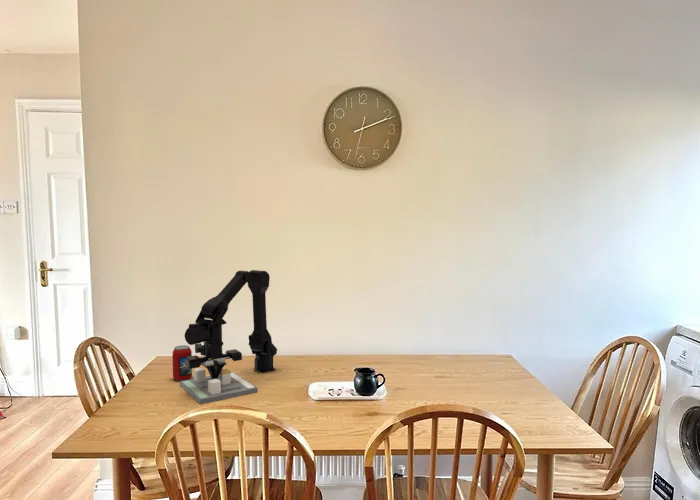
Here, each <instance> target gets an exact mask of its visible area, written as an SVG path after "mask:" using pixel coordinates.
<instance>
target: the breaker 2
mask: <svg viewBox="0 0 700 500" xmlns="http://www.w3.org/2000/svg"><path fill="white" fill-rule="evenodd" d="M208 392H209V393H210V394H211V395H214V394H219V393H221V381H219V380H218V379H212V380H208Z"/></svg>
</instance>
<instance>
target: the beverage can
mask: <svg viewBox="0 0 700 500" xmlns="http://www.w3.org/2000/svg"><path fill="white" fill-rule="evenodd" d="M190 347H191V346H190V345H187V344H186V345H184V344H183V345H182V344H181V345H176V346H175V347H174V348H173V350H172V379H174V380H175V381H177V382H180V381H185V380H190V379H192V377H193V368H192V369H190V368H188V367H187V366H186V365H185V358H186V357H189V356H193V354H192V353H193V351H192V349H191V348H190Z"/></svg>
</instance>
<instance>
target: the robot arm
mask: <svg viewBox="0 0 700 500" xmlns="http://www.w3.org/2000/svg"><path fill="white" fill-rule="evenodd" d="M246 284H247V287H248V289H249V291H250V292H251V295H252V296H251V297H252V316H253V317H252V318H253V330H252V332H251V334H249V335H248V346H249V348H250V350H251V353H252V355H255V358H254V361H253V362H254V363H253V365H254V367H253V370H255V371H257V372H258V373H268V372H271V371H275V370H276V368H274V357H275V356H276V355H277V352H278V348H277V347H276V346H275V345H274V343H273V340H272V335H271V333H270V332H269V330H268V326H267V301H266V300H267V299H266V298H267V297H266V293H267V291H268V289H269V287H270V274H269V273H268V271H266V270H259V269H258V270H257V269H252V270H250V271H248V270H237V271H236V272H235V274H234V276H233V277H232V278H231V279H230V280H229V282H228V283H227V284H226V285H225V286H224V287H223V289H222V290H220V292H219V293H218V294H217V295H216V296H214V297H211V298H210V299H208V300H207V301H206V302H205V303H204V304H203V305H202V306H201V310H200V311H199V313H198V316H197V317H196V319H195V321H194V323H189V324H188V328H187V329H186V330H185V333H184V340H185V341H186V343H187V344H188V346H193V345H194V352H195V354H196V355H192V356H189V357H186V358H185V365H186V366H187V367H188V368H190V369H192V370H193V369H197V368H201V366H202V367H204V368H206V369H207V371H208V373H209V376H211V379H218V376H219V374H220V372H221V370H222V369H224V367H225V366H226V365H227V362H226V360H228V359H231V360H232V361H233V362H238V361H242V360H243V353H242V352H241V351H239V350H237V349H236V348H234V349H230V350H229V349H228V350H225V353H223V346H224V341H223V325H226V324H227V321H226V320H224V316H225V315H226V313H228V311H229V310H228V309H229V305H230V303H231V302H232V300H234V298H235V297H236V296H237V295H238V293H239V292H240V291H241V290H242V288H243V287H244V286H245V285H246ZM202 343H203V345H202ZM197 354H200V356H201V357H199V356H198V355H197ZM202 356H203V357H202Z"/></svg>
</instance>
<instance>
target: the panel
mask: <svg viewBox="0 0 700 500" xmlns="http://www.w3.org/2000/svg"><path fill="white" fill-rule="evenodd" d="M205 379H206V381H204V382H199V383H197V382H196V381H194V378H189V379H188V380H185V381H179V386H180V387H181V388H182V389H183V390H185V392H186V393H188V394H189V395H190V396H191V398H193V399H194V400H195V401H196V402H198V404H199V405H202V404H203V405H204V404H208V403H213V402H217V401H222V400H227V399H232V398H237V397H241V396H245V395H251V394H255V393H258V391H259V390H258V389H259V387H257V386H256V385H254V384H253V383H252V382H250V381H248V380H247V379H245V378H243V377H242V376H241V375H239V374H238V373H236V372H234V371H231V384H226V385H222V384H221V393H219V394H214V395H211V394H210V393H209V392H208V380H212V379H211V376H210V375H208V376H205ZM218 380H219V376H218Z"/></svg>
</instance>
